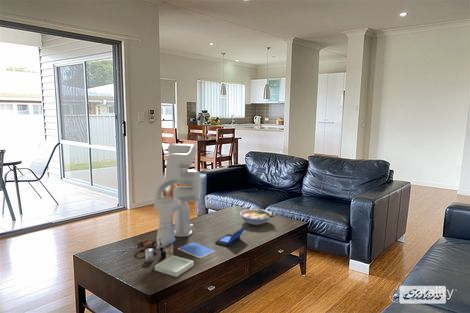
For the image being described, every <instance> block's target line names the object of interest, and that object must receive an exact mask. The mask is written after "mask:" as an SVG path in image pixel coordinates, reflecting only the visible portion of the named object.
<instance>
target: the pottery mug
mask: <svg viewBox="0 0 470 313" xmlns="http://www.w3.org/2000/svg"><path fill="white" fill-rule="evenodd" d="M156 247H157V240H152V241H151V239H145V240H142V241H140V242H138V243H137V247H136V249H137V250H138V249H141V248H144V249H145V250H146V249H148V248H153V249H154V252H155V250H156V249H157V248H156ZM143 254H144V256H145V251H144V252H143Z"/></svg>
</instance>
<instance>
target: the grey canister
mask: <svg viewBox="0 0 470 313" xmlns="http://www.w3.org/2000/svg"><path fill="white" fill-rule="evenodd" d="M144 252H145V255H144V257H145V258H144V259H145V263H153V262H154V261H155V258H154V257H155V256H154V252H155V251H154V249H153V248H148V249H145V250H144Z"/></svg>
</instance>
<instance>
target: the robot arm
mask: <svg viewBox="0 0 470 313" xmlns="http://www.w3.org/2000/svg"><path fill="white" fill-rule="evenodd" d="M167 152H168V156H167V158H166V164H165V165H166V166H165V167H166V168H165V175H164V179H163V180H162V181H161V183H160V184H159V185H158V186H157V188H156V191H155V193H154V203H153V204H154V209H155V210H156V211H158V228H157V234H156V241H157V247H156V249H157V250H158V251H159V254H160V253H161V258H160V259H163V258H164V260H165V258H166V251H165V247H166V246H167V245H172V246H173V247H174V244H175V242H176V240H177V238H182V237H183V238H184V237H189V236H191V235H192V234H193V230H192V228H193V227H194V224H193V223H191V221H190V218H191V216H190V206H189V203H188V202H198V201H199V200H201V174H200V172H199V170H196V169H189V168H191V167H192V165H193V163H194V160H195V158H196V155H197V147H196V145H195V144H190V143H171V144H169V145H168V146H167ZM175 184H178V186H175V187H174V188H173V192H172V197H162V194H163V192H164V190H165V189H167V188H169V187H170V186H172V185H175ZM187 185H189V186H187ZM176 237H177V238H176ZM162 247H163V248H162Z"/></svg>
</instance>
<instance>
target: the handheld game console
mask: <svg viewBox="0 0 470 313" xmlns="http://www.w3.org/2000/svg"><path fill="white" fill-rule="evenodd" d="M245 229H246V226H243V227H241V229H238V230H237V231H236V232H233V234H229V233H228V234H225V235H224V236H222V237H220V238H219V239H218V240H216V241H215V244H216V245H219V246H223V247H227V248H228V247H229V246H231V245H232V244H234V243H236V242H237V241H239V240H240V239H241V235H242V234H243V233H244V231H245Z"/></svg>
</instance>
